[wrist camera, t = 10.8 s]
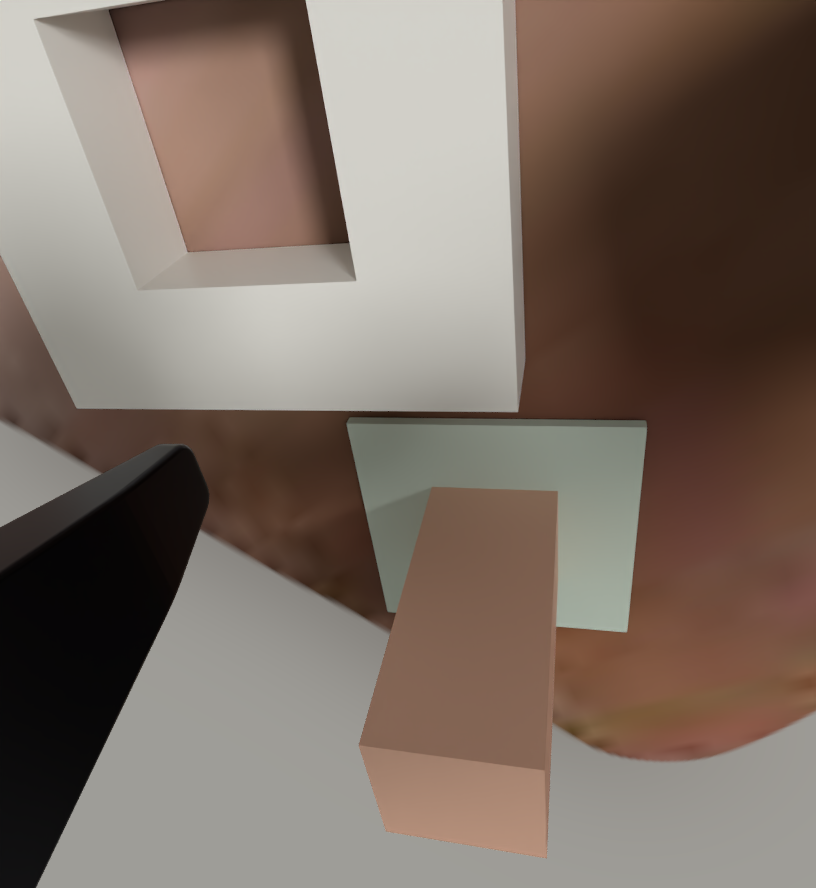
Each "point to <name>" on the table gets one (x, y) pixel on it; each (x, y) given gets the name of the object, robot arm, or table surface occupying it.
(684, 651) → the table surface
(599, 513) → the mat
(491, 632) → the peg
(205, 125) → the table surface
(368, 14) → the dock
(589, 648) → the table surface
